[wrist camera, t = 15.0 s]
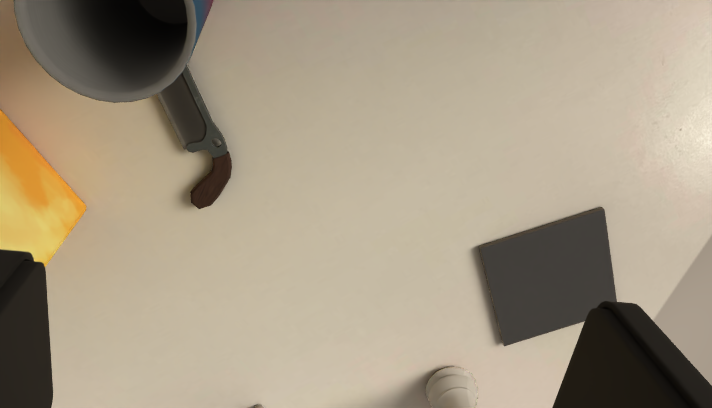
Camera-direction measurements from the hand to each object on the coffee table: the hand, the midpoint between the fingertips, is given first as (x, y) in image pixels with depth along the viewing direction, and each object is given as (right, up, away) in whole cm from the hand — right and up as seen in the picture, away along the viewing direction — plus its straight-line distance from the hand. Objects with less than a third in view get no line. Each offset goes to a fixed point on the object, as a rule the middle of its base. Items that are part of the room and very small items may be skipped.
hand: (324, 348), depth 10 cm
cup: (-11, +16, +27) cm, 33 cm away
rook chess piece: (+9, -13, +42) cm, 45 cm away
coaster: (+16, -4, +38) cm, 42 cm away
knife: (-11, +9, +30) cm, 33 cm away
